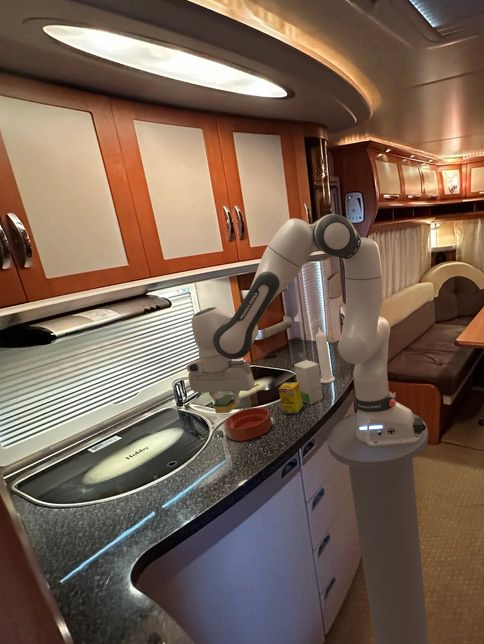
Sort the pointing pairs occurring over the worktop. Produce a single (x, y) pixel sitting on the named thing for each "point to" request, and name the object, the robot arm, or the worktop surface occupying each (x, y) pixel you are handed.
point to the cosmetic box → (309, 381)
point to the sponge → (225, 404)
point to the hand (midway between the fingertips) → (227, 403)
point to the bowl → (248, 423)
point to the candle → (323, 357)
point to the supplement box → (291, 398)
